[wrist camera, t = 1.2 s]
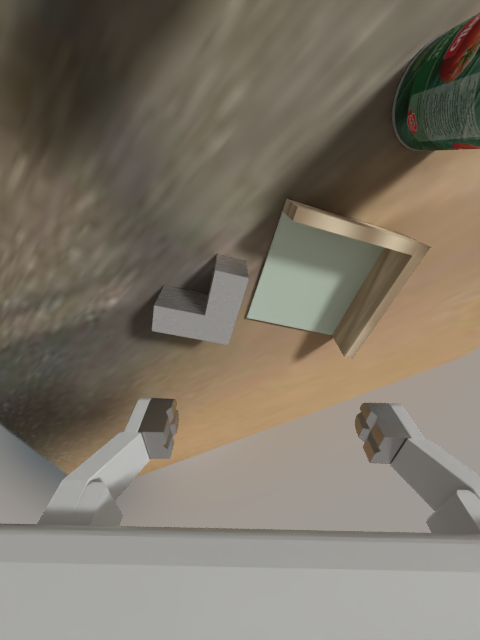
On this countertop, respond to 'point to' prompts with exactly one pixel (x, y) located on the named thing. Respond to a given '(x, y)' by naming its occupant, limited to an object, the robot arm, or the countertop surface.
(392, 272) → the walls
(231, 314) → the bracket
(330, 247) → the mat
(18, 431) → the countertop surface
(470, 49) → the canned tomato
